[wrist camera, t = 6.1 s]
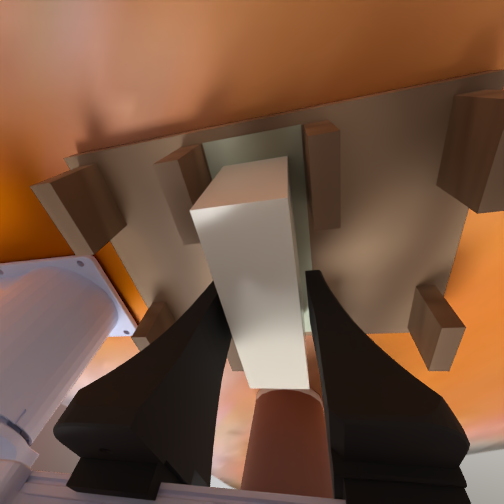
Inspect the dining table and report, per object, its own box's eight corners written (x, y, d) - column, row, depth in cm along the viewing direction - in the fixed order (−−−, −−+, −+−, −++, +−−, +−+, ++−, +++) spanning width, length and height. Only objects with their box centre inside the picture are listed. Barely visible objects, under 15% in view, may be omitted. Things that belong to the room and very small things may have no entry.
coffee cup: (352, 387, 23) (403, 626, 13) (317, 429, 28) (333, 623, 18) (253, 364, 22) (226, 588, 13) (235, 411, 28) (206, 596, 18)
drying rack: (170, 329, 21) (148, 375, 18) (77, 153, 14) (9, 176, 10) (426, 319, 17) (459, 376, 14) (489, 70, 10) (593, 64, 7)
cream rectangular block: (259, 315, 17) (250, 388, 13) (223, 166, 12) (189, 210, 8) (303, 313, 17) (309, 389, 13) (287, 155, 11) (287, 197, 7)
